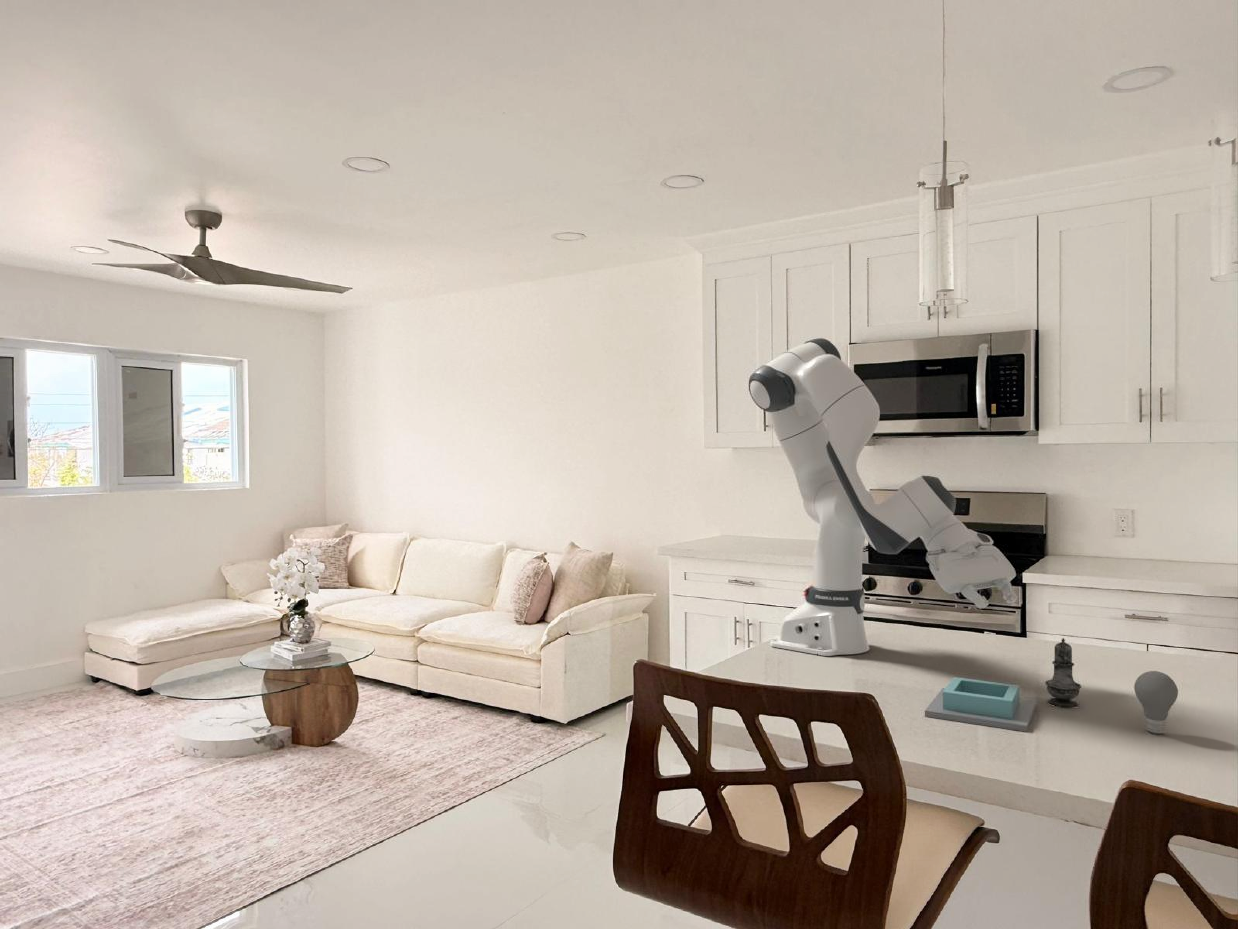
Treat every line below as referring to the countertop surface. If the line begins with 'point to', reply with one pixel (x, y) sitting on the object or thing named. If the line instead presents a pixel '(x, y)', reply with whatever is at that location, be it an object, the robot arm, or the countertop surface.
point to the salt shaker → (1063, 678)
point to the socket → (982, 704)
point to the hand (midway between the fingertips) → (999, 604)
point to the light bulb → (1156, 698)
